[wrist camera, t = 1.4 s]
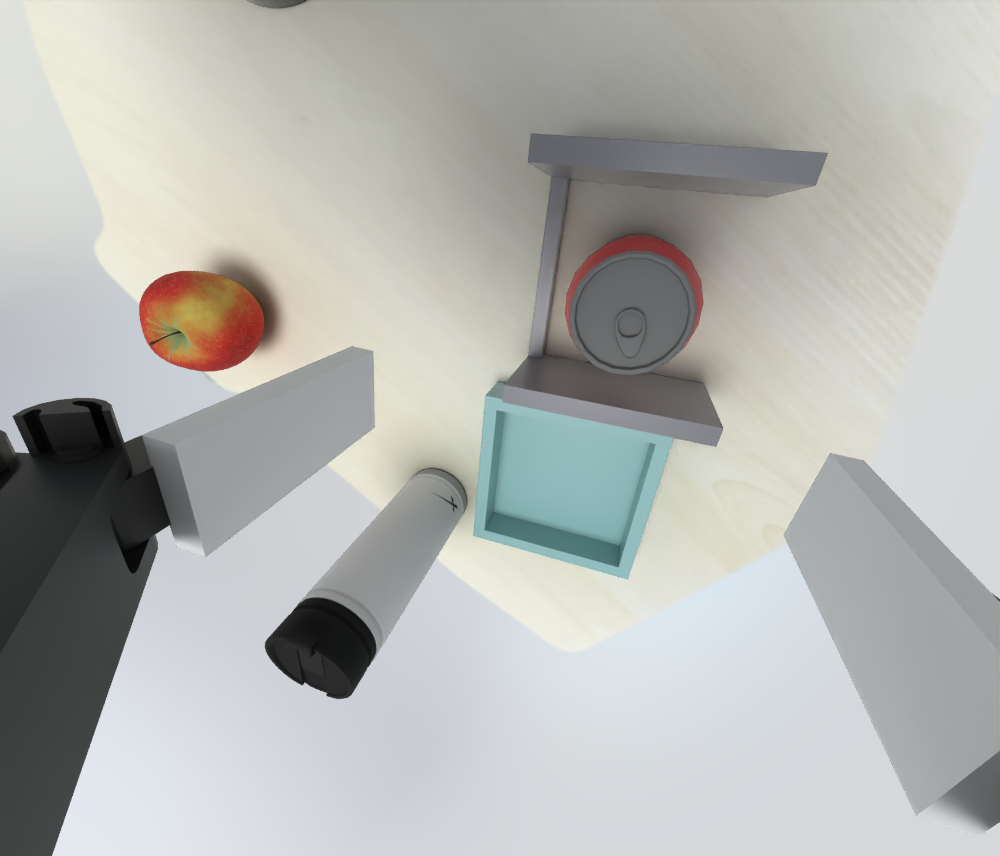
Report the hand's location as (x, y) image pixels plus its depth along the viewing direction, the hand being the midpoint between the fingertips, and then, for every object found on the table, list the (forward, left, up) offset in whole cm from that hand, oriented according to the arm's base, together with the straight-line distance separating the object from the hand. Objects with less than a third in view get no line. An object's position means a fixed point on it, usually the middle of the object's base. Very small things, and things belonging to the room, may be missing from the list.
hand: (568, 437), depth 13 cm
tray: (+14, -1, -21) cm, 25 cm away
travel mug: (+20, -13, -21) cm, 32 cm away
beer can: (-2, +1, -21) cm, 21 cm away
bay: (-2, +1, -21) cm, 21 cm away
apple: (+5, -33, -21) cm, 39 cm away
